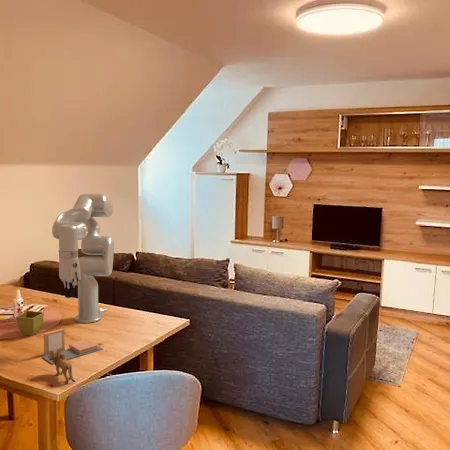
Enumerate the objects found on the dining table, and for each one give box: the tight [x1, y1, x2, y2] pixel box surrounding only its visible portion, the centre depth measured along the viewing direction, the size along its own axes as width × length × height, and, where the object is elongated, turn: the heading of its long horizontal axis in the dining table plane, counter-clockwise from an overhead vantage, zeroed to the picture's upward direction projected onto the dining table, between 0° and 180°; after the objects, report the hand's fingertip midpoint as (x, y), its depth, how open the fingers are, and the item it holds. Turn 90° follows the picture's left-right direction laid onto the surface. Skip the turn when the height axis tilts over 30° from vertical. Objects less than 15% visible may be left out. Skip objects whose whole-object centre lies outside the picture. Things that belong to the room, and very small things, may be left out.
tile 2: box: [68, 338, 98, 354], centre depth 194 cm, size 8×2×9 cm
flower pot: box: [15, 310, 45, 336], centre depth 210 cm, size 9×9×9 cm
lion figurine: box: [48, 349, 76, 384], centre depth 169 cm, size 15×5×9 cm, turn 51°
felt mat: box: [41, 345, 104, 366], centre depth 190 cm, size 22×9×1 cm, turn 136°
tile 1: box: [43, 328, 66, 356], centre depth 190 cm, size 8×2×9 cm, turn 136°
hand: (69, 297), depth 195 cm, fingers closed
